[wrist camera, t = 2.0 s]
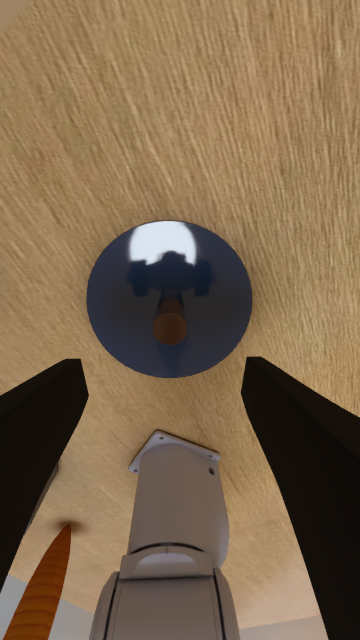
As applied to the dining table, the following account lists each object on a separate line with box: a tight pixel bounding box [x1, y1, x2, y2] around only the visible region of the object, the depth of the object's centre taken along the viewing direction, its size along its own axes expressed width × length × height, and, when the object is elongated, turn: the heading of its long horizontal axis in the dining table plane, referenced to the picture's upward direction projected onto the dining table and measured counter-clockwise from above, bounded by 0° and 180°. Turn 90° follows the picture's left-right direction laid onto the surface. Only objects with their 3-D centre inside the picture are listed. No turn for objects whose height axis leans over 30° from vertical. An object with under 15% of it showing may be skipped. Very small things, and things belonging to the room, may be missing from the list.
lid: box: [86, 220, 252, 378], centre depth 15 cm, size 14×14×5 cm
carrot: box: [3, 525, 71, 640], centre depth 24 cm, size 5×5×15 cm
